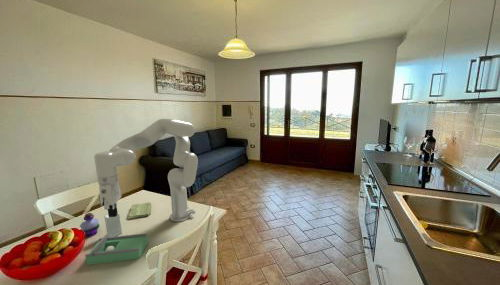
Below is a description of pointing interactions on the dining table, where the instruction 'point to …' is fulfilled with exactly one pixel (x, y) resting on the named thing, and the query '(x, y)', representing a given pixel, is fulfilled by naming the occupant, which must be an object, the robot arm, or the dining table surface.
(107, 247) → the ball
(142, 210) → the washcloth
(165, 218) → the dining table surface
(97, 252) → the green
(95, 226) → the purple rounded piece
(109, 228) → the skincare box
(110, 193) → the robot arm
